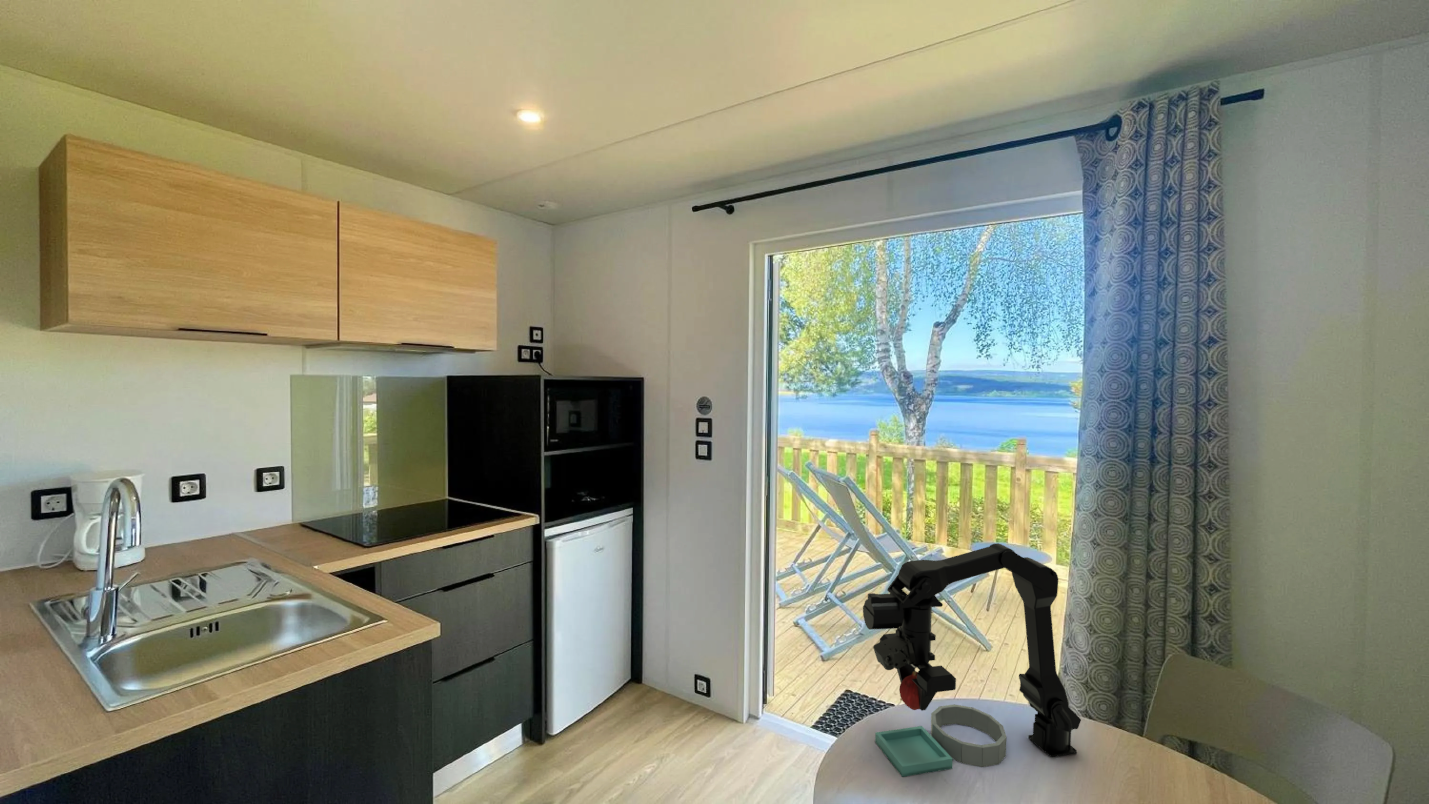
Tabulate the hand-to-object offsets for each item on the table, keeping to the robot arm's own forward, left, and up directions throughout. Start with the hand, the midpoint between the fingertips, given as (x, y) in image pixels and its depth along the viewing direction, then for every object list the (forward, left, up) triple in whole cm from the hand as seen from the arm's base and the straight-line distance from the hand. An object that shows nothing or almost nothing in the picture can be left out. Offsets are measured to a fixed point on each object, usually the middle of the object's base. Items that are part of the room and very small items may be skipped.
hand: (914, 701), depth 115 cm
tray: (0, 0, -11) cm, 11 cm away
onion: (0, 0, -2) cm, 2 cm away
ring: (-13, -1, -11) cm, 18 cm away
